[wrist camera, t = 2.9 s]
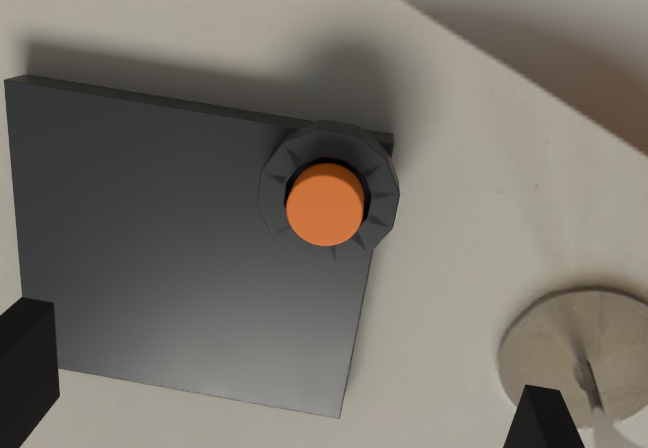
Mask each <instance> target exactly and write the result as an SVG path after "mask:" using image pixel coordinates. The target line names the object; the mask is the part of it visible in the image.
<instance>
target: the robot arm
mask: <svg viewBox="0 0 648 448" xmlns="http://www.w3.org/2000/svg"><path fill="white" fill-rule="evenodd" d="M59 397H60V391H59V375H58V359H57V343H56V326H55V310H54V302H48V301H42V300H37V299H31V298H25V297H21V298H20V299H19V300H18V301H17V302H15V303H14V304H13V305H12V306H11V307H10V308H9V309H7V310H6V311H5V312H4V313H3V314H2V315H0V448H20V446H21V445H22V444H23V442H24V441H25V440H26V439H27V437H28V436H29V435H30V434H31V432H32V431H33V430H34V428H35V427H36V426H37V425H38V423H39V422H40V421H41V420H42V418H43V417H44V416H45V414H46V413H47V412H48V411H49V409H50V408H51V407H52V406H53V404H54V403H55V402H56V400H57V399H58V398H59ZM503 448H585V447H584V445H583V442H582V440H581V438H580V435H579V433H578V431H577V429H576V426H575V424H574V422H573V420H572V417H571V415H570V413H569V411H568V408H567V406H566V404H565V401H564V399H563V397H562V395H561V392H560V390H555V389H549V388H543V387H538V386H532V385H525V387H524V390H523V393H522V396H521V399H520V402H519V404H518V407H517V410H516V413H515V416H514V419H513V421H512V424H511V427H510V430H509V433H508V435H507V438H506V441H505V444H504V447H503Z"/></svg>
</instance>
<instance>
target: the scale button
mask: <svg viewBox="0 0 648 448" xmlns="http://www.w3.org/2000/svg"><path fill="white" fill-rule="evenodd" d="M363 208H364V191H363V188H362V185H361V183H360V181H359V180H358V178H357V177H356V176H355V174H353V173H352V172H351V171H350V170H348V169H347V168H345V167H343V166H341V165H338V164H334V163H320V164H316V165H313V166H311V167H309V168H307V169H306V170H304V171H303V172H302V173H301V174H300V175H299V176H298V178H297V179H296V181H295V183H294V185H293V187H292V190H291V192H290V194H289V197H288V200H287V204H286V212H287V218H288V221H289V223H290V225H291V227H292V228H293V230H294V231H295V232H296V233H297V234H298V235H299V236H300V237H301V238H302V239H304V240H305V241H307V242H309V243H312V244H315V245H320V246H332V245H336V244H340V243H342V242H344V241H346V240H348V239H349V238H350V237H352V236H353V235H354V234H355V232H356V231H357V230H358V228H359V226H360V224H361V222H362V218H363Z"/></svg>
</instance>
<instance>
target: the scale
mask: <svg viewBox="0 0 648 448" xmlns="http://www.w3.org/2000/svg"><path fill="white" fill-rule="evenodd" d="M4 87H5V99H6V111H7V123H8V134H9V146H10V158H11V170H12V181H13V193H14V205H15V217H16V228H17V240H18V252H19V264H20V275H21V287H22V297H25V298H31V299H37V300H42V301H48V302H54V310H55V326H56V343H57V359H58V368H59V369H65V370H70V371H76V372H81V373H87V374H92V375H98V376H104V377H109V378H115V379H120V380H126V381H132V382H137V383H143V384H148V385H154V386H159V387H165V388H171V389H176V390H182V391H187V392H193V393H199V394H204V395H210V396H215V397H221V398H226V399H232V400H238V401H243V402H249V403H254V404H260V405H266V406H271V407H277V408H282V409H288V410H293V411H299V412H305V413H310V414H316V415H321V416H327V417H333V418H338V419H339V418H340V415H341V410H342V405H343V400H344V395H345V390H346V384H347V379H348V374H349V369H350V364H351V359H352V354H353V349H354V344H355V339H356V334H357V329H358V324H359V318H360V313H361V308H362V303H363V298H364V293H365V288H366V283H367V278H368V273H369V268H370V263H371V258H372V253H373V249H374V248H375V247H376V246H377V245H378V243H379V242H380V241H381V240H382V239H383V238H384V237H385V236H386V235H387V234H388V233H389V232H390V231H391V230H392V228H393V226H394V221H395V216H396V211H397V206H398V202H399V197H400V190H399V180H398V177H397V174H396V172H395V169H394V166H393V163H392V161H391V156H392V151H393V146H394V140H393V134H387V133H381V132H375V131H369V130H364V129H362V128H361V127H358V126H357V125H351V124H345V123H339V122H333V121H327V120H320V121H317V122H314V121H308V120H302V119H295V118H289V117H283V116H277V115H271V114H265V113H259V112H252V111H246V110H240V109H234V108H228V107H222V106H216V105H209V104H203V103H197V102H191V101H185V100H179V99H173V98H167V97H160V96H154V95H148V94H142V93H136V92H130V91H124V90H117V89H111V88H105V87H99V86H93V85H87V84H81V83H74V82H68V81H62V80H56V79H50V78H44V77H38V76H32V75H21V76H17V77H13V78H9V79H5V80H4ZM320 163H334V164H338V165H341V166H343V167H345V168H347V169H348V170H350V171H351V172H352V173H353V174H355V176H356V177H357V178H358V180H359V181H360V183H361V185H362V188H363V191H364V208H363V218H362V222H361V224H360V226H359V228H358V230H357V231H356V232H355V234H354V235H353V236H352V237H350V238H349V239H348V240H346V241H344V242H342V243H340V244H336V245H332V246H320V245H315V244H312V243H309V242H307V241H305V240H304V239H302V238H301V237H300V236H299V235H298V234H297V233H296V232H295V231H294V230H293V228H292V227H291V225H290V223H289V221H288V218H287V212H286V204H287V200H288V197H289V194H290V192H291V190H292V187H293V185H294V183H295V181H296V179H297V178H298V176H299V175H300V174H301V173H302V172H303V171H304V170H306V169H307V168H309V167H311V166H313V165H316V164H320Z"/></svg>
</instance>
